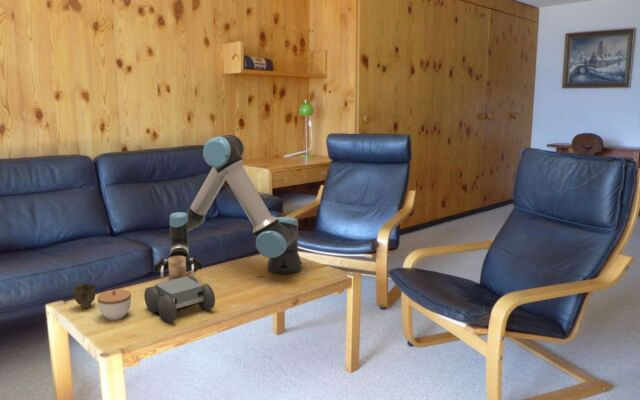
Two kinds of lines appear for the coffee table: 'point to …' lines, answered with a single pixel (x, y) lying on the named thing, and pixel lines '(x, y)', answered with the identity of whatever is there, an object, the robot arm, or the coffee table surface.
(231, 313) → the coffee table surface
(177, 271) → the tan wooden cylinder
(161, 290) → the trolley
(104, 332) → the coffee table surface
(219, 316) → the coffee table surface
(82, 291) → the dark brown textured bowl
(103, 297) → the lidded jar
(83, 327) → the coffee table surface
